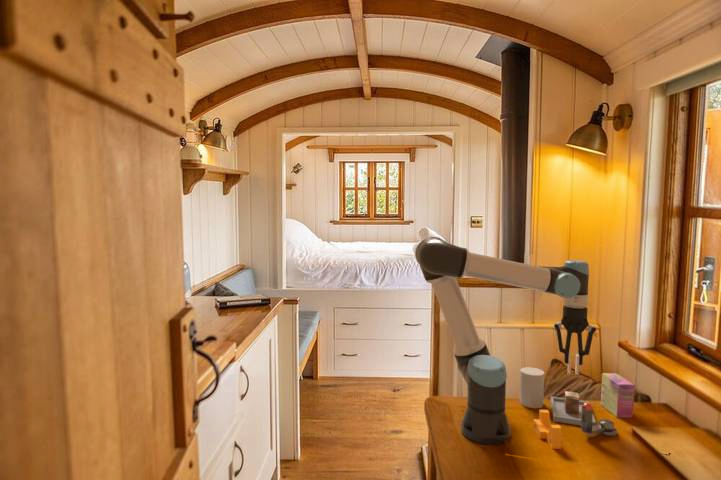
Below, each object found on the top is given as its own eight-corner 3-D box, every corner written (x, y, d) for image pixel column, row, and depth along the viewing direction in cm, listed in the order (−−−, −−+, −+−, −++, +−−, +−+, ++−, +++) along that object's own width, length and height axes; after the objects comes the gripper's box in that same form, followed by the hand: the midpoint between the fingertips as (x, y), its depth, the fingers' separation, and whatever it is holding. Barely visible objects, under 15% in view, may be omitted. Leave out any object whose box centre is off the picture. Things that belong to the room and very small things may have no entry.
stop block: (565, 412, 150) (566, 395, 150) (564, 407, 154) (565, 391, 154) (578, 414, 149) (579, 397, 148) (577, 409, 152) (578, 392, 152)
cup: (545, 401, 161) (546, 370, 160) (541, 410, 154) (542, 377, 153) (522, 396, 165) (523, 365, 164) (517, 404, 158) (518, 372, 158)
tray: (553, 421, 146) (553, 416, 146) (550, 401, 161) (550, 396, 161) (595, 427, 141) (595, 422, 141) (588, 406, 157) (588, 401, 157)
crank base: (591, 430, 139) (591, 427, 139) (600, 425, 143) (601, 422, 143) (664, 459, 123) (664, 456, 123) (672, 453, 127) (672, 449, 127)
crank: (604, 423, 142) (605, 394, 141) (617, 430, 138) (618, 399, 137) (576, 431, 136) (577, 401, 136) (589, 438, 132) (590, 406, 132)
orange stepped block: (533, 428, 141) (533, 409, 141) (547, 429, 141) (547, 409, 140) (546, 448, 129) (546, 427, 129) (561, 449, 129) (561, 428, 128)
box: (633, 418, 148) (635, 384, 147) (616, 418, 148) (618, 384, 148) (616, 404, 159) (617, 372, 158) (600, 404, 159) (601, 372, 158)
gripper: (552, 306, 148) (550, 374, 149) (601, 309, 143) (598, 380, 144) (551, 302, 155) (549, 366, 156) (597, 305, 150) (595, 372, 151)
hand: (573, 373), depth 150 cm, fingers closed
